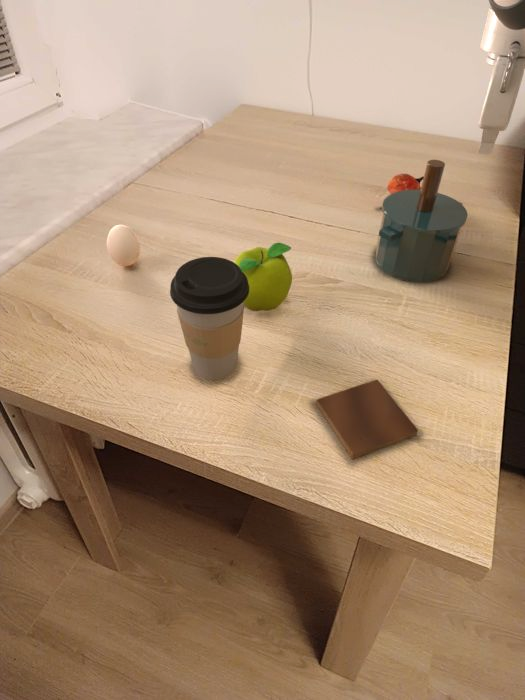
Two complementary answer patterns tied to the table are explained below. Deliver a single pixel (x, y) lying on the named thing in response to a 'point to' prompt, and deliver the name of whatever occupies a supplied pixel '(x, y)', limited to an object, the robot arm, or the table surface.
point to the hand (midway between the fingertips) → (487, 141)
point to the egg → (123, 245)
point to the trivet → (366, 418)
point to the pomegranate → (403, 183)
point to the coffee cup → (211, 313)
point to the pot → (414, 252)
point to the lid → (426, 205)
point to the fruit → (265, 276)
